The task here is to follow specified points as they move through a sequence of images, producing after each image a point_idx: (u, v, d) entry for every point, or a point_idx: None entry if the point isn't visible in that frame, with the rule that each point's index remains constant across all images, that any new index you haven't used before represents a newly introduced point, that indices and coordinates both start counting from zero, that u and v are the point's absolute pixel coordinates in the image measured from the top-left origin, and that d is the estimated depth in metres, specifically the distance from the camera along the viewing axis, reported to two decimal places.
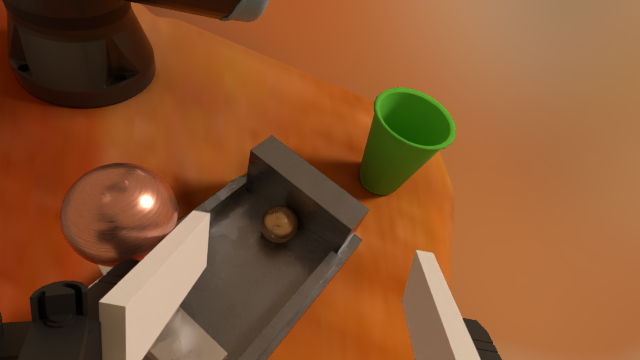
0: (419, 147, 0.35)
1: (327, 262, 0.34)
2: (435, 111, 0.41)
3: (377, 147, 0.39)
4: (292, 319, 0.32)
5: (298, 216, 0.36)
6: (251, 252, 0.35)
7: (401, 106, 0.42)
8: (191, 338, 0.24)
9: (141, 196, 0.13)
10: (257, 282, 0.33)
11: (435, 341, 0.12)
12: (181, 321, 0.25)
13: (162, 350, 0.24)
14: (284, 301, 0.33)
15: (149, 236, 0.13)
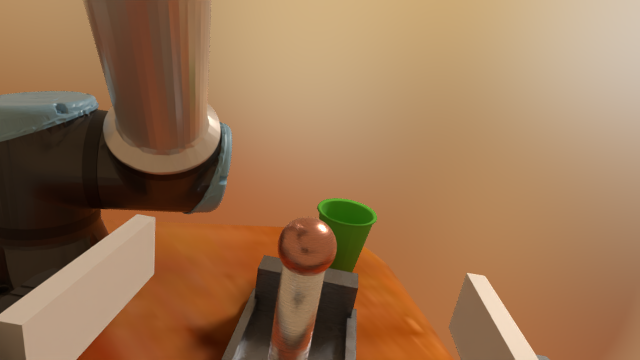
0: (363, 225, 0.52)
1: (350, 325, 0.43)
2: (354, 207, 0.59)
3: None
4: None
5: None
6: None
7: (330, 211, 0.59)
8: None
9: (324, 223, 0.25)
10: None
11: None
12: None
13: None
14: None
15: (335, 242, 0.25)
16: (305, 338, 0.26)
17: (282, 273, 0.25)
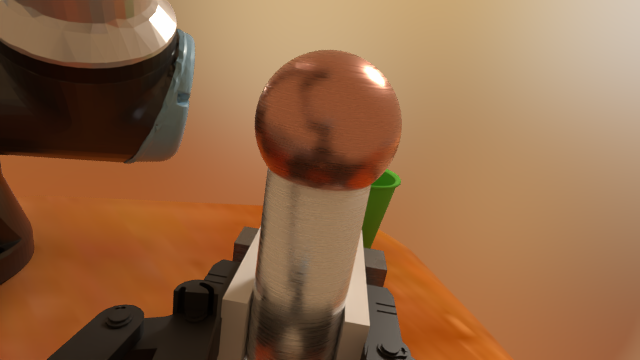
0: (384, 187, 0.37)
1: None
2: None
3: None
4: None
5: None
6: None
7: None
8: None
9: None
10: None
11: None
12: None
13: None
14: None
15: (399, 110, 0.10)
16: (324, 353, 0.11)
17: (266, 195, 0.10)
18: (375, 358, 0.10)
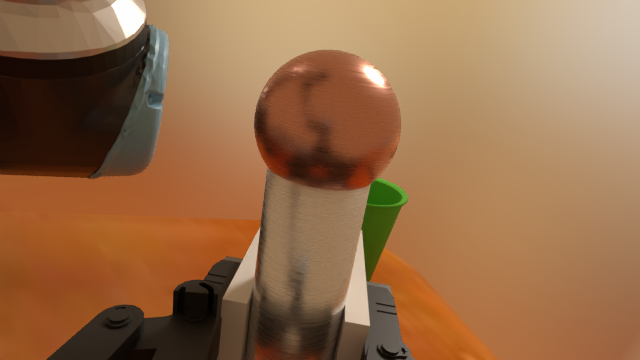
0: (390, 206, 0.32)
1: None
2: None
3: None
4: None
5: None
6: None
7: None
8: None
9: None
10: None
11: None
12: None
13: None
14: None
15: (399, 109, 0.10)
16: (324, 353, 0.11)
17: (265, 195, 0.10)
18: (375, 358, 0.10)
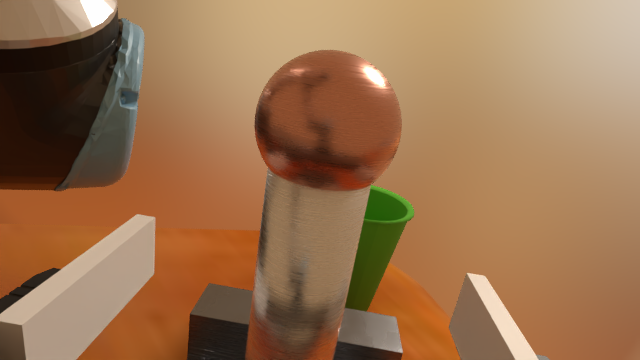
0: (395, 222, 0.29)
1: None
2: (371, 194, 0.36)
3: None
4: None
5: None
6: None
7: None
8: None
9: None
10: None
11: None
12: None
13: None
14: None
15: (399, 110, 0.10)
16: (324, 354, 0.11)
17: (266, 195, 0.10)
18: None
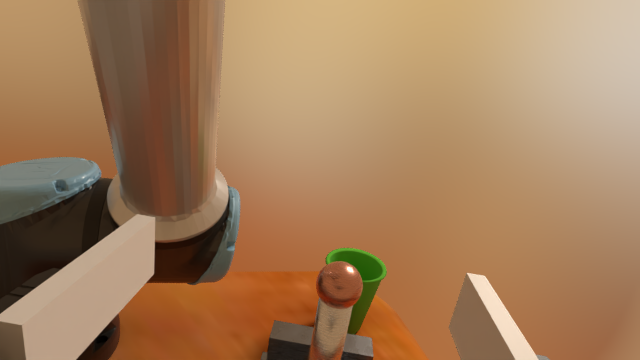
0: (373, 281, 0.50)
1: None
2: (361, 256, 0.58)
3: None
4: None
5: None
6: None
7: None
8: None
9: (352, 266, 0.32)
10: None
11: None
12: None
13: None
14: None
15: None
16: (338, 358, 0.33)
17: (319, 306, 0.32)
18: None
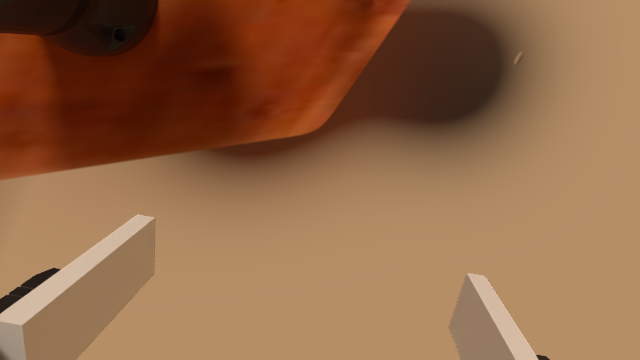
0: None
1: None
2: None
3: None
4: None
5: None
6: None
7: None
8: None
9: None
10: None
11: None
12: None
13: None
14: None
15: None
16: None
17: None
18: None
